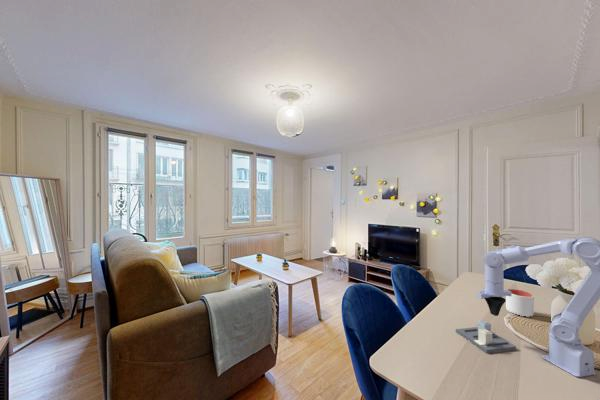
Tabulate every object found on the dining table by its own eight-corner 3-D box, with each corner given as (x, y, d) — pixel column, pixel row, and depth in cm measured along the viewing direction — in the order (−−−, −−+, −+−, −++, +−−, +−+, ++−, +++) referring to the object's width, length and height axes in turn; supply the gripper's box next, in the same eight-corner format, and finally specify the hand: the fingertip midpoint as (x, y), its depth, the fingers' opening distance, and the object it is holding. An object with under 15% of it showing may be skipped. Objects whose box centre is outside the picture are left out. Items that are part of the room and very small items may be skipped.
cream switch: (492, 343, 87) (492, 332, 87) (485, 344, 86) (485, 333, 86) (484, 339, 90) (484, 328, 90) (478, 339, 89) (478, 328, 89)
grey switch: (490, 334, 93) (490, 323, 93) (484, 334, 93) (484, 324, 93) (483, 329, 96) (483, 319, 96) (477, 330, 96) (477, 320, 96)
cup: (539, 319, 108) (539, 298, 108) (514, 317, 110) (514, 296, 110) (523, 309, 117) (523, 289, 117) (501, 307, 119) (501, 288, 119)
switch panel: (516, 349, 86) (516, 345, 86) (486, 353, 84) (486, 348, 84) (482, 329, 99) (482, 325, 99) (455, 332, 97) (455, 328, 97)
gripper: (498, 276, 98) (499, 308, 98) (469, 278, 95) (470, 311, 95) (517, 282, 91) (517, 316, 91) (486, 285, 88) (486, 320, 88)
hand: (494, 314), depth 93 cm, fingers closed
